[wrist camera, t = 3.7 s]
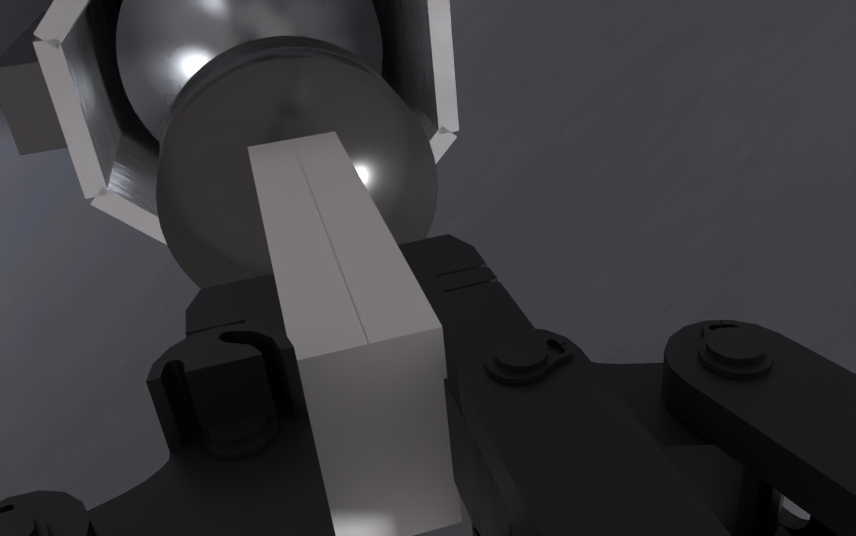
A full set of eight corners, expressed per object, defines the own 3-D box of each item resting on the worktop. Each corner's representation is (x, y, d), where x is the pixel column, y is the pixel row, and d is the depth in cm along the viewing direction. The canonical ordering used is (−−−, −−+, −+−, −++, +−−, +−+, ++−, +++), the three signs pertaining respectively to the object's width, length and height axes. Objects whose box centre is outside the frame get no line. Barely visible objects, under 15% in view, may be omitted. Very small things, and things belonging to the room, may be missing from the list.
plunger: (82, -68, 22) (-19, 0, 11) (360, -101, 23) (503, -69, 13) (157, 192, 26) (134, 426, 15) (390, 149, 27) (520, 334, 16)
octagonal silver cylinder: (16, -125, 28) (-110, -115, 16) (349, -160, 31) (452, -173, 19) (106, 160, 34) (61, 324, 22) (383, 112, 36) (479, 236, 24)
